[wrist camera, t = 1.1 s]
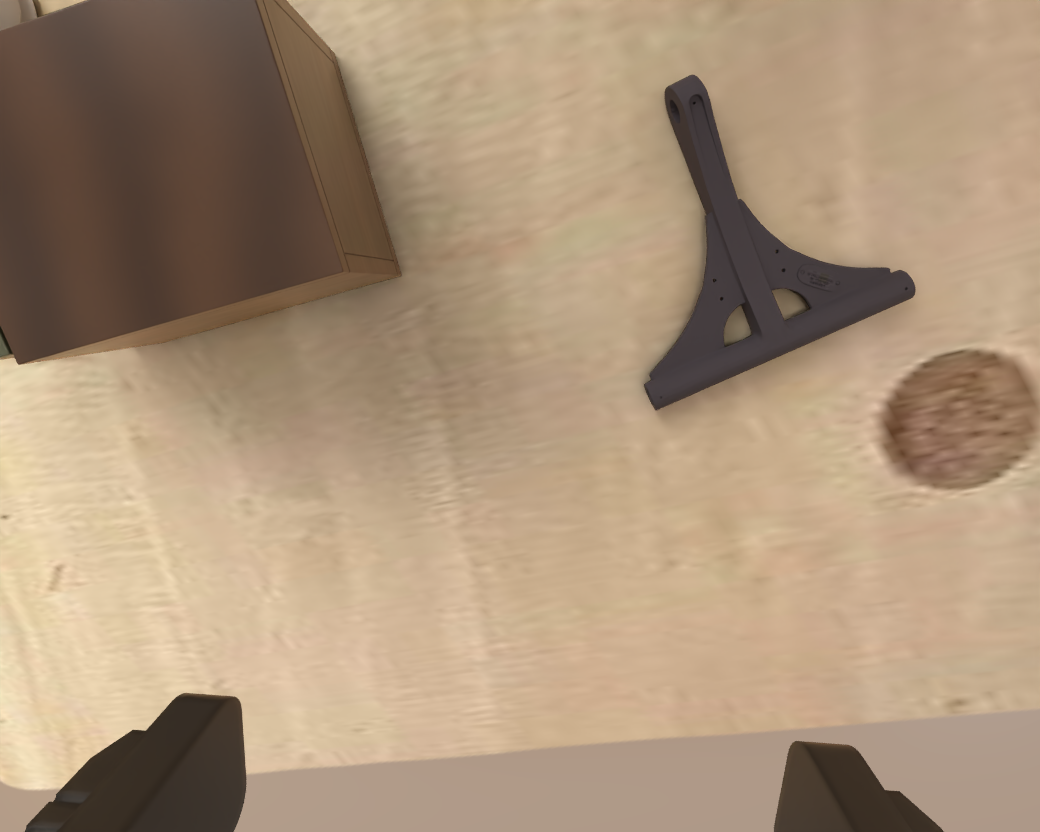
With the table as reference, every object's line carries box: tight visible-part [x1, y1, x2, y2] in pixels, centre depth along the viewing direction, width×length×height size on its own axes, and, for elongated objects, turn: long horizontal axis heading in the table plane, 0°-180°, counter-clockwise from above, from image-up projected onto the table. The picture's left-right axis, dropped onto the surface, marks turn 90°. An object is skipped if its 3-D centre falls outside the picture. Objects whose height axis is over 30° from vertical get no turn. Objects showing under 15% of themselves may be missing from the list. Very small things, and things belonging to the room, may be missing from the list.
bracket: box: [644, 75, 915, 410], centre depth 30 cm, size 14×15×3 cm
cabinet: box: [0, 0, 401, 365], centre depth 27 cm, size 15×12×10 cm
